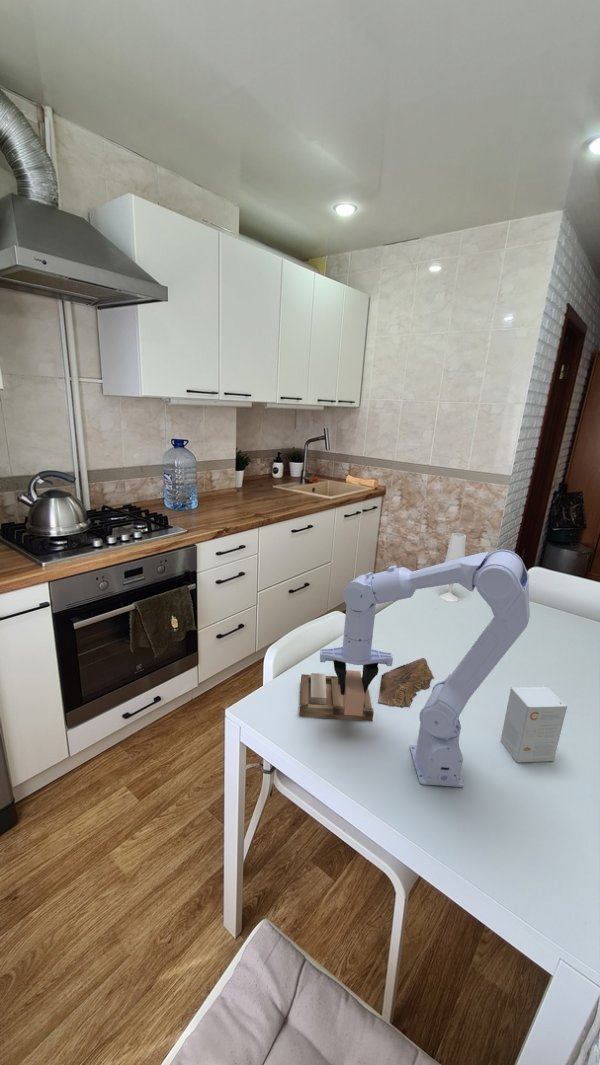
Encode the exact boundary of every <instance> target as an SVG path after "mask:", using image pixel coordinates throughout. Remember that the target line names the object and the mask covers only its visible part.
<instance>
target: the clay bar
mask: <svg viewBox="0 0 600 1065" xmlns="http://www.w3.org/2000/svg"><path fill="white" fill-rule="evenodd" d="M346 671H347V672H346V678H345V693H344V695H342V698H343V707H344V715H357V716H362V713H363V705H364V696H365V693H364V688H363V683H362V673H361V672H362V671H360V670H352V669H351V670H349V669H346Z"/></svg>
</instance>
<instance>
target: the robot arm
mask: <svg viewBox="0 0 600 1065" xmlns="http://www.w3.org/2000/svg"><path fill="white" fill-rule="evenodd" d="M444 562H445V561H444ZM444 562H442V563H439V564H438V563H437V564H435V565H431V566H428V567H423V568H420V569H417V570H413V571H412V570H410V569H409V568H407V567H404V566H402V567H397V565H396V564H395V565H392V566H389V567H388V568H387V570H384V571H381V572H376V573H374V572H372V571H370V572H367V573H366V574H360V575H358V576H357V577H356V578H354V579H352V581H350V582H349V583H348V584H347V585H346V586H345V587H344V589H342V590H343V591H342V599H343V601H344V603H345V605H346V607H345V616H344V618H345V619H344V627H343V637H342V641H343V642H342V646H339V647H332V648H320V651H319V663H326V662H332V663H333V669H334V672H335V674H336V675H335V676H337V677H338V680H339V683H340V691H341V695H344V693H345V678H346V672H347V671H346V670H347V664H349V665H353V666H362V673H361V677H362V683H363V688H364V693H365V694H366V691H367V688H368V689H369V686H370V685H371V683H372V681H373V680H374V679H375V677H376V676H378V673H379V665H386V667H392V666H393V660H394V658H393V654H392V652H386V651H381V650H377V649H373V648H372V644H373V637H374V636H373V635H374V628H375V618H376V606H377V604H378V605H380V604H385V603H391V602H395V601H400V600H405V599H411V598H412V597H413V595H414V594H415V592H416V591H417V590H422V589H426V588H433V587H441V586H448V585H449V584H453V585H454V584H459V585H460V586H461V587H463V588H464V589H466V590H467V591H469V592H472V593H473V592H474V590H475V588H476V591H477V593H478V594H479V595H480V596H481V597H482V599H483V600H484V601H485V602H486V604H487V605H488V606H489V608H490V609H491V612H492V615H493V618H492V619H491V621H490V622H489V623H488V624H487V626H485V628H484V630H483V631H482V632H481V634H480V635H479V636H478V638H477V639H476V641H474V643H473V645H472V646H471V647H470V649H469V650H468V651H467V652H466V653H465V655H464V656H463V658H462V659H461V660H460V661H459V663H458V664H457V666H456V667H455V669H454V670H453V671H452V673H450V674H448V676H447V677H446V678H445V679H444V680H442V681H440V682H437V683H436V684H435V685H434V686H433V687H432V689H431V693H430V695H429V697H428V699H427V700H426V702H425V704H424V706H423V708H422V709H421V710H420V712H419V714H418V715H419V722H420V723H419V730H418V736H417V743H416V744H410V745H409V749H410V753H411V757H412V761H413V764H414V768H415V771H416V775H417V779H418V782H419V784H421V785H427V786H428V785H429V786H443V787H445V786H446V787H457V788H462V787H464V781H463V779H462V776H461V772H462V767H463V762H464V758H463V754H462V751H461V748H460V735H461V730H462V724H461V721H460V715H461V713H462V712H463V710H464V708H465V707H466V705H467V703H468V702H469V700H470V698H471V697H472V696H473V695H474V693H475V692H476V691H477V689H478V688H479V687H480V686H481V684H482V683H484V681H485V680H486V678H487V677H488V675H490V674H491V672H492V671H493V669H494V668H495V667H496V666H497V664H498V663H500V661H501V659H502V658H503V657H504V656H505V655H506V653H507V652H508V651H509V650H510V648H511V647H512V646H513V644H515V642H516V641H517V639H519V637H520V636H521V634H522V633H523V632H524V631H525V629H526V628H527V627H528V624H529V621H530V616H531V611H530V591H529V590H530V586H529V585H530V584H529V582H530V581H529V580H530V575H529V572H528V571H527V568H526V566H525V563H524V562H523V559H522V558H521V556H519V555H518V554H517V553H515V551H512V550H509V549H497V550H494V551H492V552H490V553H489V552H488V551H486V552H479V553H475V554H471V555H468V556H465V557H463V558H459V559H456V560H452V561H449V562H445V563H444Z"/></svg>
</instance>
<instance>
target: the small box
mask: <svg viewBox="0 0 600 1065" xmlns="http://www.w3.org/2000/svg"><path fill="white" fill-rule="evenodd" d="M567 709H568V705H567V704H566V703H565V702H564V701H563V700H562V699H561V698H560V697H559V696H558V695H556V693H555V692H553V690H552V689H550V688H549V687H548V686H522V687H521V686H519V687H518V686H516V687H513V686H512V687H510V692H509V696H508V701H507V707H506V711H505V715H504V720H503V726H502V731H501V736H500V742H501V744H502V745H503V746H504V748H506V750H507V751H508V753H509V754H510V756H511V757H512V758H513V760H514V762H516V763H534V762H535V763H537V762H538V763H539V762H554V761H555V757H556V753H557V750H558V745H559V741H560V737H561V732H562V729H563V726H564V720H565V717H566V713H567Z"/></svg>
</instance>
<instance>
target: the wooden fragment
mask: <svg viewBox="0 0 600 1065" xmlns="http://www.w3.org/2000/svg"><path fill="white" fill-rule="evenodd" d="M380 678H381V679H380V686H379V687H380V688H379V694H378V701H377V704H378V705H383V706H388V707H392V708H395V707H396V708H397V707H398V708H411V705H412V702H413V698H415V697H416V696H417V695H418V693H417V692H419V691H421V690H422V691H423V690H426V689H429V688H430V687H431V681H432V679H433V680H434V678H435V676H434V675H433V673H432V670H431V669H430V667H429V665H428V661H427V659H426V658H424V657H422V658H419V659H416V660H414V661H411V662H409V663H406V664H402V665H400V666H397V667H395V668H393V669H391V670H389V671H386V672H384V673H383V674H381V677H380Z"/></svg>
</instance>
